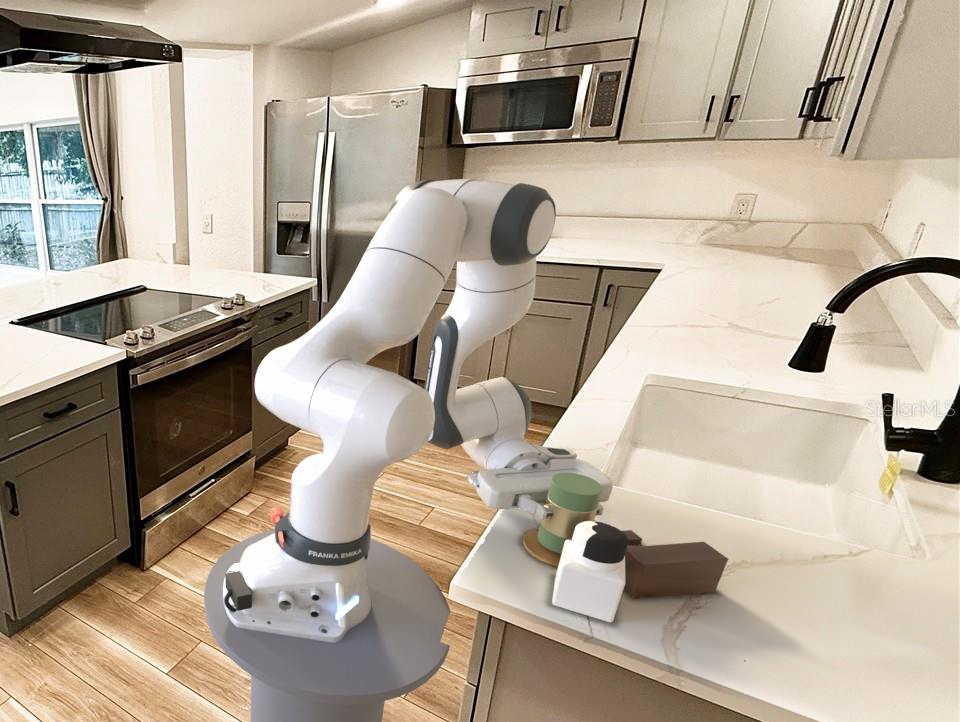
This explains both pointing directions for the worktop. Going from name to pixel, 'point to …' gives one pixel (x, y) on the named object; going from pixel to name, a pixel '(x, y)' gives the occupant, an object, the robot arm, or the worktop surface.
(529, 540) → the cork coaster
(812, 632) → the worktop surface
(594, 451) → the worktop surface
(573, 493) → the tin can
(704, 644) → the worktop surface
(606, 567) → the medicine bottle
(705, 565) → the brown rectangular block
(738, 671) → the worktop surface
